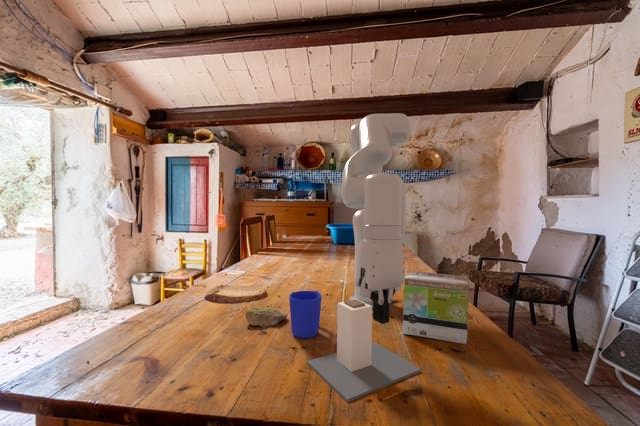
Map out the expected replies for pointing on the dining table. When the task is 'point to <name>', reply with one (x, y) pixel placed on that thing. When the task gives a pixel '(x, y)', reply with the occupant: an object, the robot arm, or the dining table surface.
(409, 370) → the mat
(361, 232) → the robot arm
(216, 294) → the wood slice
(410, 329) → the tea box
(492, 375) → the dining table surface
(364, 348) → the block
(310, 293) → the mug
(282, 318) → the rock
